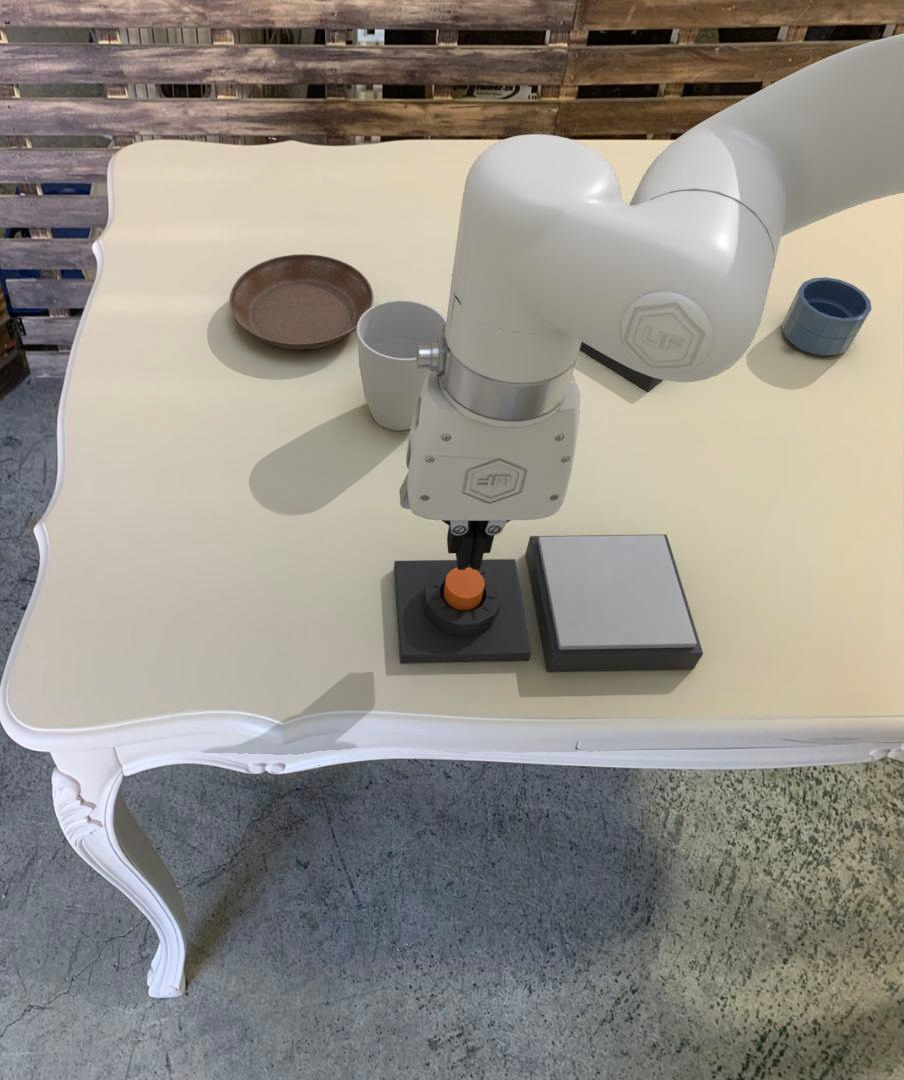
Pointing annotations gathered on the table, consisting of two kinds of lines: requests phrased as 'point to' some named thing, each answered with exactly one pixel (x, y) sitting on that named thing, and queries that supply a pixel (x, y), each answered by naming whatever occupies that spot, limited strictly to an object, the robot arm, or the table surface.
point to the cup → (395, 358)
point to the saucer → (301, 300)
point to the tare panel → (459, 615)
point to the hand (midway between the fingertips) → (466, 553)
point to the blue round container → (825, 316)
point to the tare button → (463, 589)
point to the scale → (610, 604)
